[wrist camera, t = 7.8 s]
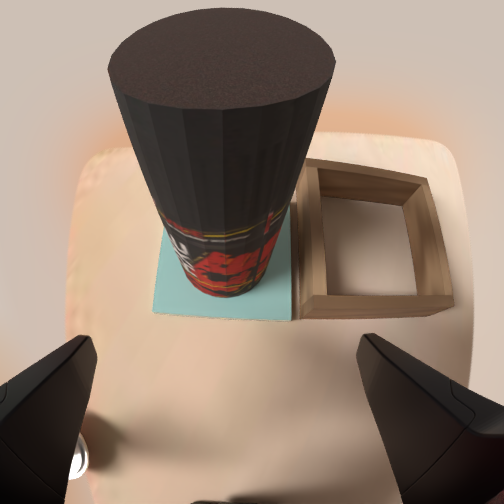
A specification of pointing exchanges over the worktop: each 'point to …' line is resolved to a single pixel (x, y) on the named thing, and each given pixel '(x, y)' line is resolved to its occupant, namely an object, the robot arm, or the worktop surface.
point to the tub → (419, 230)
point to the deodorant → (222, 131)
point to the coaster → (237, 308)
